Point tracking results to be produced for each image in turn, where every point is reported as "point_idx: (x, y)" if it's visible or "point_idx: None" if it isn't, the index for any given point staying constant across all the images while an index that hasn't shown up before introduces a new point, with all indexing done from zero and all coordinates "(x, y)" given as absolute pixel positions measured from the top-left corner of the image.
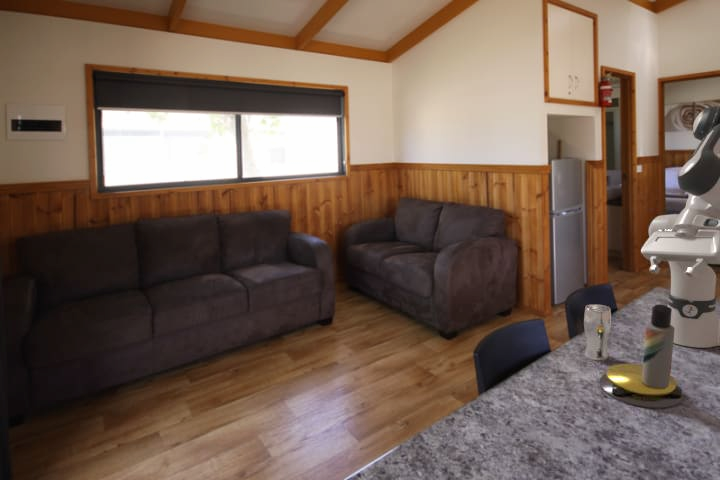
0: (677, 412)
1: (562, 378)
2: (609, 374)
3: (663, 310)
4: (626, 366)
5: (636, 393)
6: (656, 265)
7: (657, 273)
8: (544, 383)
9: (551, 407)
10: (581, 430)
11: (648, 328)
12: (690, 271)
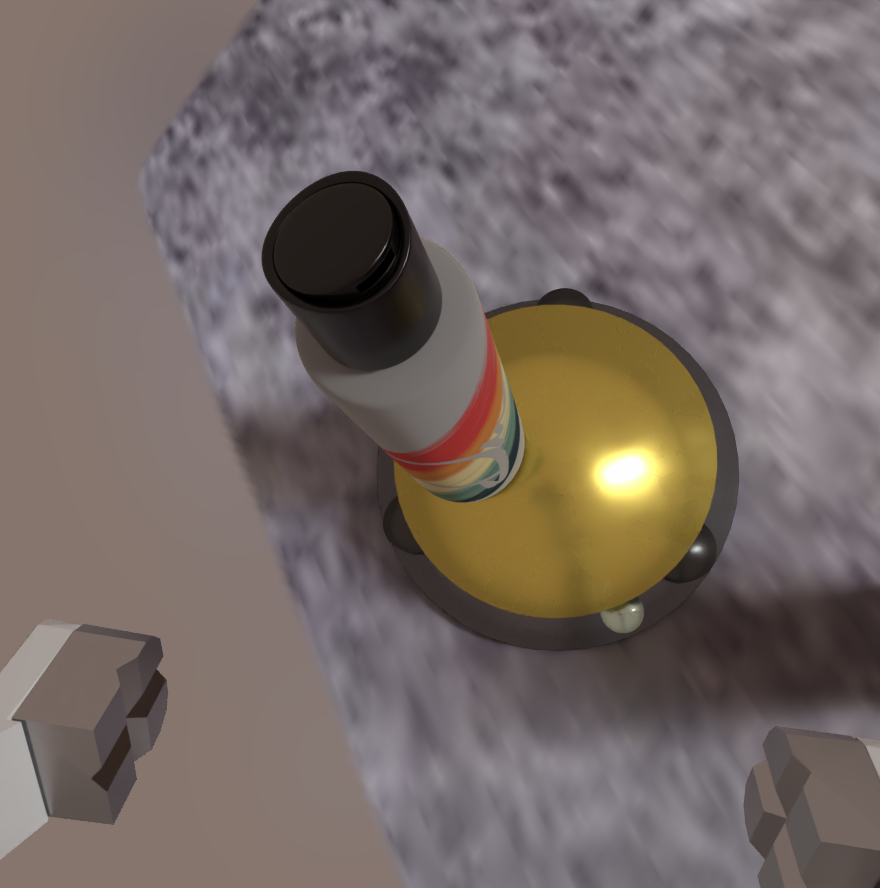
0: None
1: (832, 260)
2: (655, 352)
3: (306, 215)
4: (669, 511)
5: None
6: (815, 826)
7: (746, 799)
8: (837, 153)
9: (657, 39)
10: (485, 24)
11: (429, 241)
12: (55, 637)
